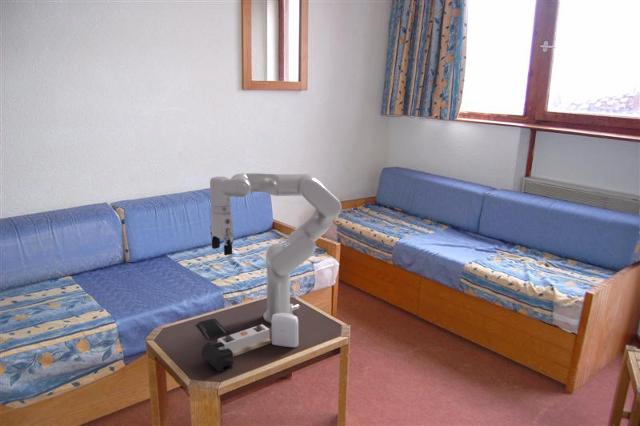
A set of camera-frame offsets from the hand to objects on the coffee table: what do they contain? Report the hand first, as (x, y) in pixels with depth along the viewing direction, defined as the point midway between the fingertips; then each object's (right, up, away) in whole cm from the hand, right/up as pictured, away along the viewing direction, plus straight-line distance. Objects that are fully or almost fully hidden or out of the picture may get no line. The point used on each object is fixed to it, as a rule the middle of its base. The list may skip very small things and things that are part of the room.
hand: (222, 251), depth 197 cm
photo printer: (+25, -34, -9) cm, 44 cm away
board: (+11, -34, -12) cm, 38 cm away
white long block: (+11, -33, -12) cm, 37 cm away
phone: (-4, -32, +1) cm, 32 cm away
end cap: (+3, -38, -24) cm, 45 cm away
